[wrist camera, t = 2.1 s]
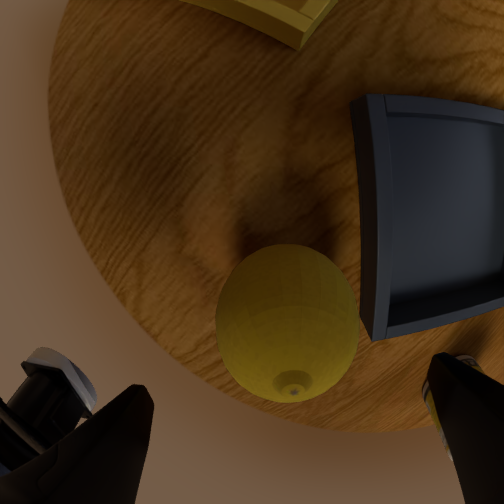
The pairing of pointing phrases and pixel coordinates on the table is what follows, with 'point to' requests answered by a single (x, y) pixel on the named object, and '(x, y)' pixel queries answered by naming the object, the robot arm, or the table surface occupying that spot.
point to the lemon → (287, 323)
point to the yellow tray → (274, 16)
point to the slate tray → (428, 211)
